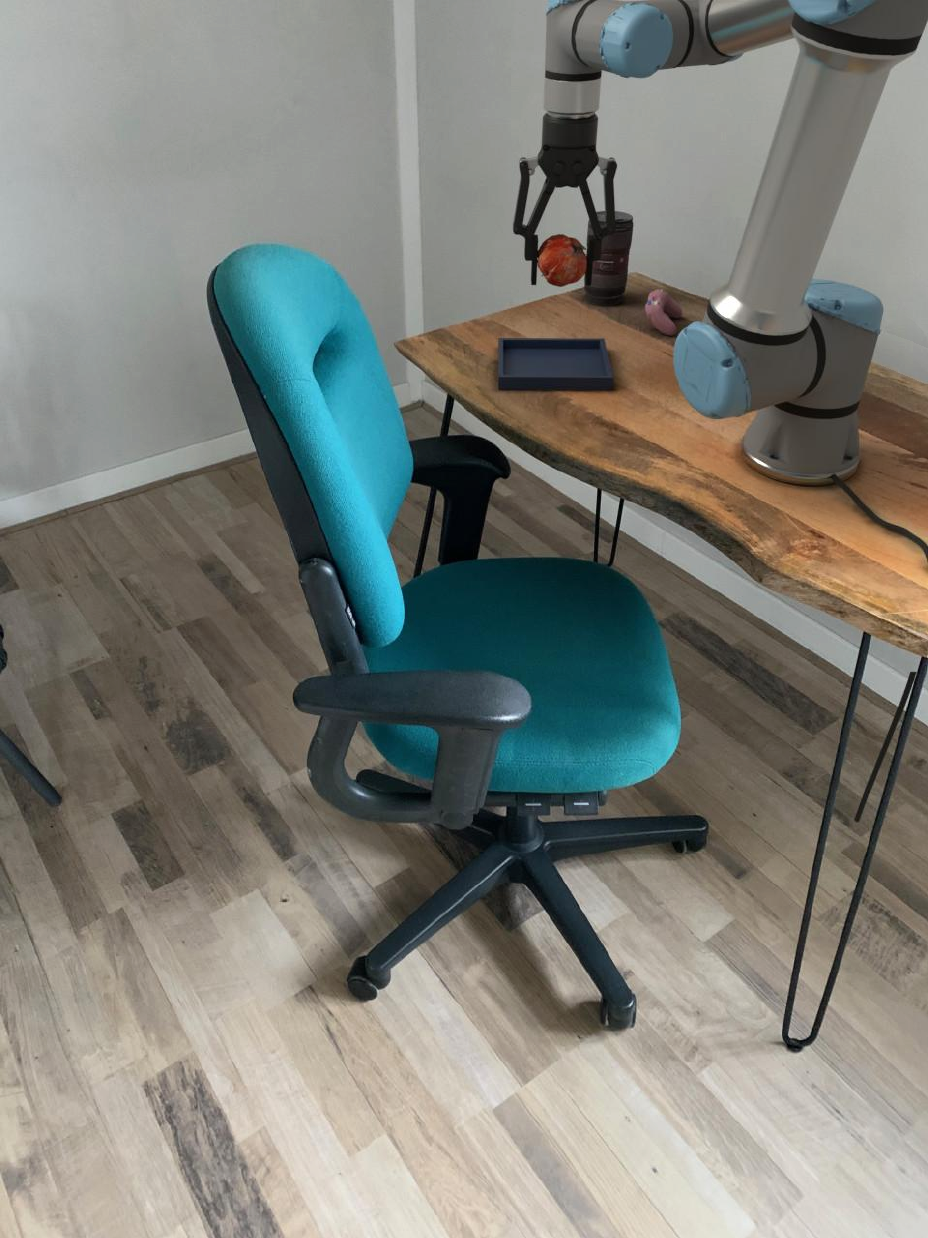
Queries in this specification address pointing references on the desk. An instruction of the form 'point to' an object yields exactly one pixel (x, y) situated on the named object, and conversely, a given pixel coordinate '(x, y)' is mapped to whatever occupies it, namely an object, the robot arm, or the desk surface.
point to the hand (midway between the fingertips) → (560, 281)
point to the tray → (553, 364)
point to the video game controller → (662, 311)
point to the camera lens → (611, 262)
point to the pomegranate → (562, 260)
